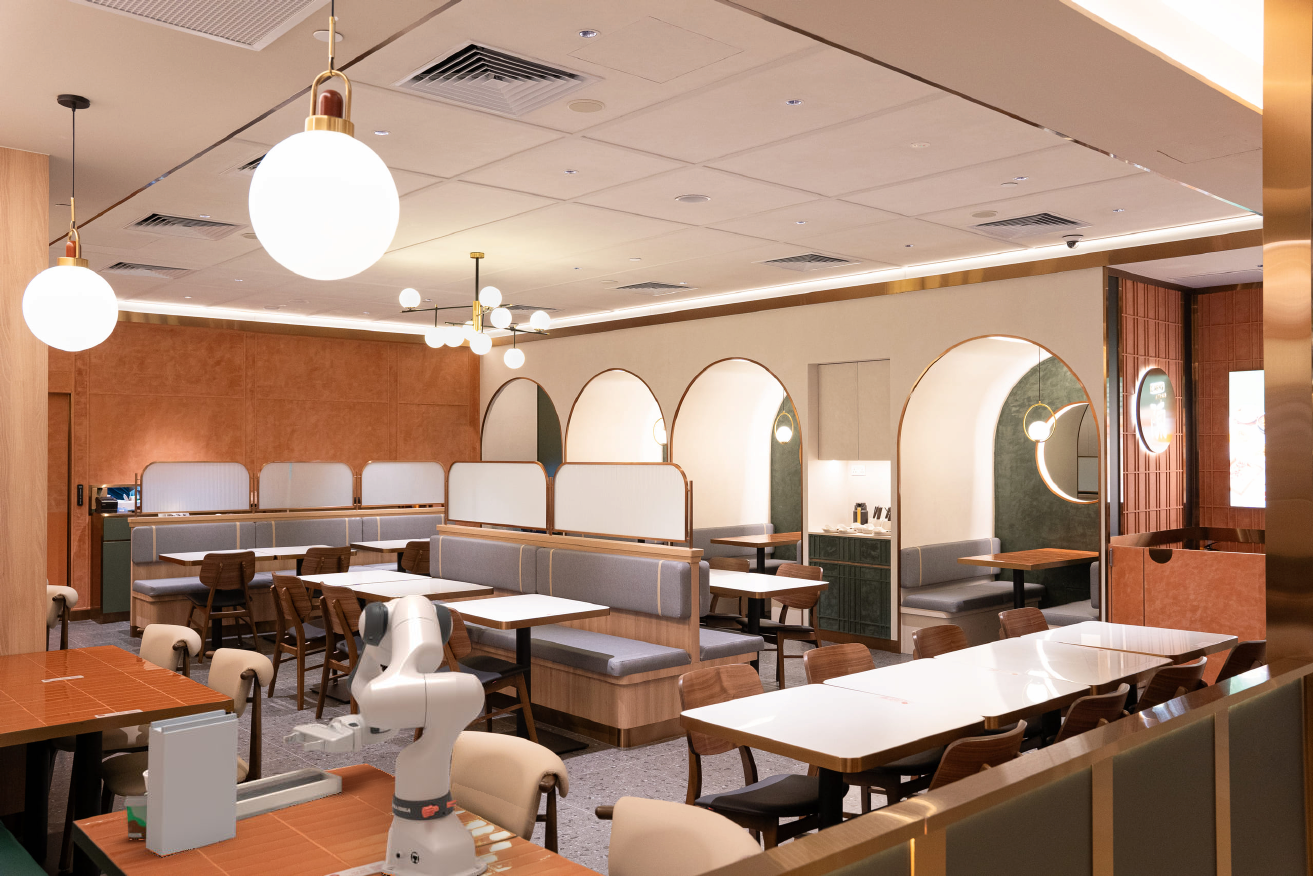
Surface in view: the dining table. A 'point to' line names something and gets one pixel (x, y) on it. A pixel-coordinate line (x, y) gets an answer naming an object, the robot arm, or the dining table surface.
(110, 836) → the dining table surface
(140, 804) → the food container
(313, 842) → the dining table surface
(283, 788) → the dark gray bar
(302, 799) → the tray
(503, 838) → the dining table surface
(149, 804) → the channel block
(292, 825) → the dining table surface
